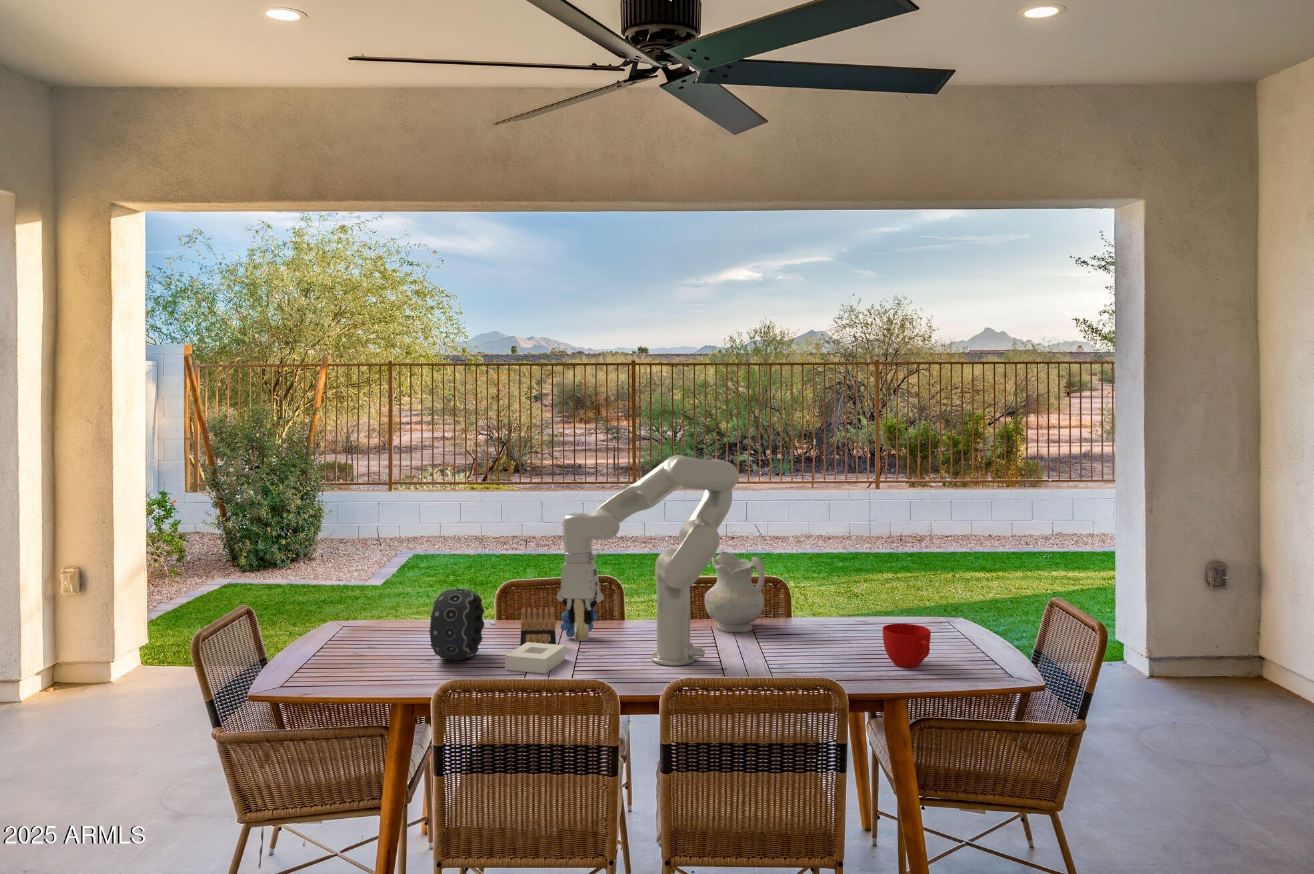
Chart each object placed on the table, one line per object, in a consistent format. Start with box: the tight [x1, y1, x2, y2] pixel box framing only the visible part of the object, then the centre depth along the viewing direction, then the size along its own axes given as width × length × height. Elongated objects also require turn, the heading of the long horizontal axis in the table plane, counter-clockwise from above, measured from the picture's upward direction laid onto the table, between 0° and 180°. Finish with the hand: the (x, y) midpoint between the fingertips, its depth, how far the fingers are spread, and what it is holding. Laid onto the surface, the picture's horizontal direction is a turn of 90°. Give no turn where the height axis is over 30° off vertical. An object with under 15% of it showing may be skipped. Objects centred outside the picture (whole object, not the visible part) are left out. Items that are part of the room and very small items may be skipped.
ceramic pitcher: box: [704, 551, 765, 633], centre depth 279 cm, size 22×20×25 cm
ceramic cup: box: [882, 623, 932, 669], centre depth 238 cm, size 13×17×10 cm
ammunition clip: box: [519, 606, 557, 647], centre depth 259 cm, size 11×2×12 cm, turn 92°
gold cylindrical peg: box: [573, 598, 590, 641], centre depth 239 cm, size 4×4×12 cm
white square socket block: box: [504, 641, 566, 674], centre depth 240 cm, size 12×14×4 cm
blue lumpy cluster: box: [560, 606, 598, 638], centre depth 269 cm, size 12×7×12 cm, turn 101°
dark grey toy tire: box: [428, 588, 485, 661], centre depth 246 cm, size 11×20×20 cm, turn 174°
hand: (581, 622), depth 239 cm, fingers closed on gold cylindrical peg, 4 cm apart
